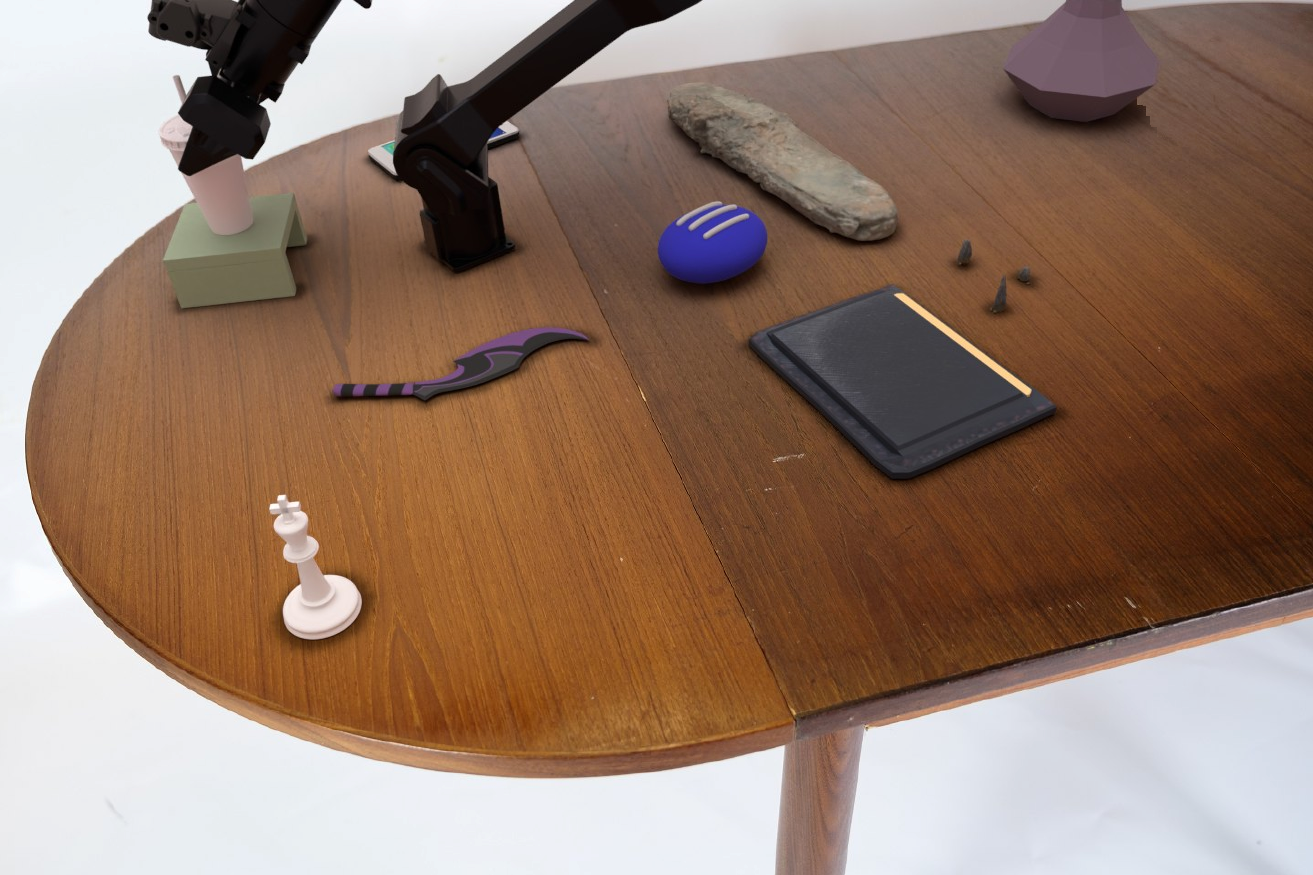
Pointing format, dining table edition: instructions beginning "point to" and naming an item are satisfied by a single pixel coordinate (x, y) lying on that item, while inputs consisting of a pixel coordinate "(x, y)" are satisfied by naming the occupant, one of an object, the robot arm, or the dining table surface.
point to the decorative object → (712, 243)
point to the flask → (1082, 62)
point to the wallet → (899, 381)
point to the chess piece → (312, 581)
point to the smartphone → (385, 151)
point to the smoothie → (211, 180)
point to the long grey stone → (783, 160)
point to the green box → (235, 255)
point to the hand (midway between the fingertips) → (191, 154)
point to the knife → (471, 365)
